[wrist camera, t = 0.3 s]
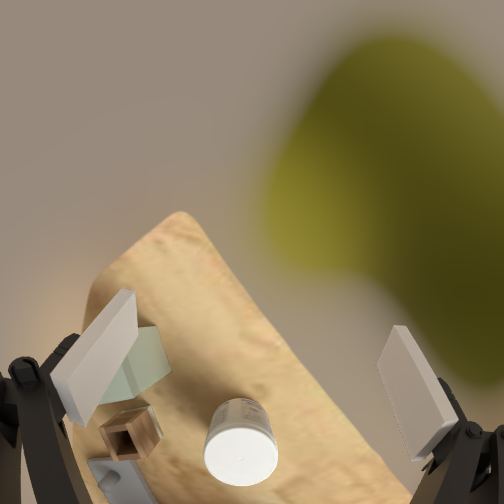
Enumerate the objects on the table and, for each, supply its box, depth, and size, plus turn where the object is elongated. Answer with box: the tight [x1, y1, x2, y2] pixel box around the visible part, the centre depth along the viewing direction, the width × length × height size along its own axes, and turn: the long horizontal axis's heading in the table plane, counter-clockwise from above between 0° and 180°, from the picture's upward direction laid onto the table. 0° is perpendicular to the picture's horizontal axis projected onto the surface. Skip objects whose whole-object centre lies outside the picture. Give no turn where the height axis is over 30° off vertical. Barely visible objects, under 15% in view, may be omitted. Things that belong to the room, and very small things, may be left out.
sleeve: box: [98, 405, 163, 461], centre depth 39 cm, size 6×6×10 cm
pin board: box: [87, 457, 159, 504], centre depth 37 cm, size 16×10×7 cm, turn 19°
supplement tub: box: [204, 398, 278, 486], centre depth 37 cm, size 10×10×15 cm
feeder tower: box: [98, 326, 172, 405], centre depth 38 cm, size 8×8×18 cm
